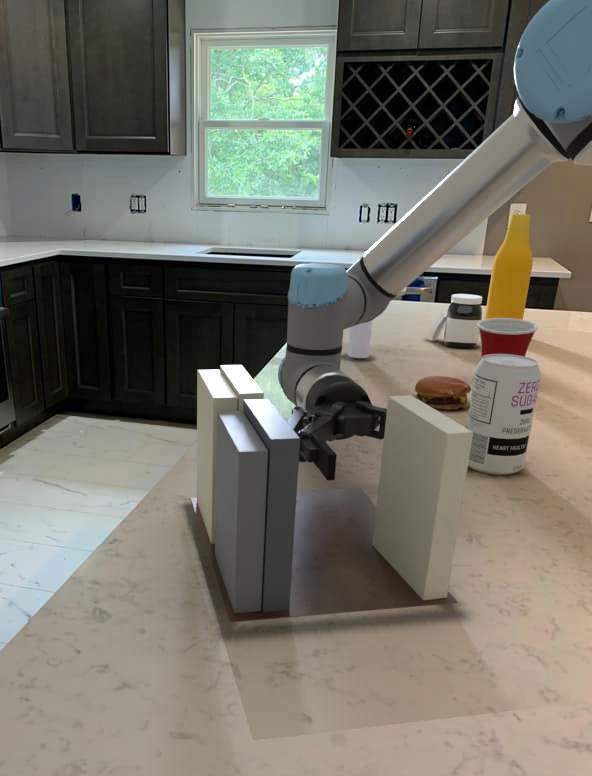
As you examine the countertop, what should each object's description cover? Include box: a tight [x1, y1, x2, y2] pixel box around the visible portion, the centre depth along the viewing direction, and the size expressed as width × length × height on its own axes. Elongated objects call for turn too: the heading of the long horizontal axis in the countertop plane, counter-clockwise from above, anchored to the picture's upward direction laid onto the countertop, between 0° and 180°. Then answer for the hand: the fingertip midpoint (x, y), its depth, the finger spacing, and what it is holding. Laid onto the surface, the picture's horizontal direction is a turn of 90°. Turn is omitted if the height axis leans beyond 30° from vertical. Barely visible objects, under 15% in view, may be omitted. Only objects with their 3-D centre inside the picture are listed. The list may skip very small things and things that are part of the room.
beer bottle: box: [483, 213, 534, 320], centre depth 181 cm, size 9×9×29 cm
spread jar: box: [427, 293, 483, 350], centre depth 172 cm, size 12×11×12 cm
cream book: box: [372, 394, 473, 601], centre depth 68 cm, size 2×11×16 cm, turn 15°
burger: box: [414, 375, 472, 411], centre depth 127 cm, size 10×9×5 cm
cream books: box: [196, 364, 265, 544], centre depth 77 cm, size 5×11×16 cm, turn 10°
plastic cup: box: [477, 318, 539, 361], centre depth 139 cm, size 11×11×12 cm
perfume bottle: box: [347, 320, 373, 359], centre depth 155 cm, size 6×6×20 cm
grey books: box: [215, 398, 300, 613], centre depth 65 cm, size 5×11×16 cm, turn 10°
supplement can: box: [465, 354, 542, 476], centre depth 98 cm, size 8×8×15 cm
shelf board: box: [189, 488, 459, 623], centre depth 76 cm, size 21×26×2 cm
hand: (397, 464), depth 73 cm, fingers open, 13 cm apart
